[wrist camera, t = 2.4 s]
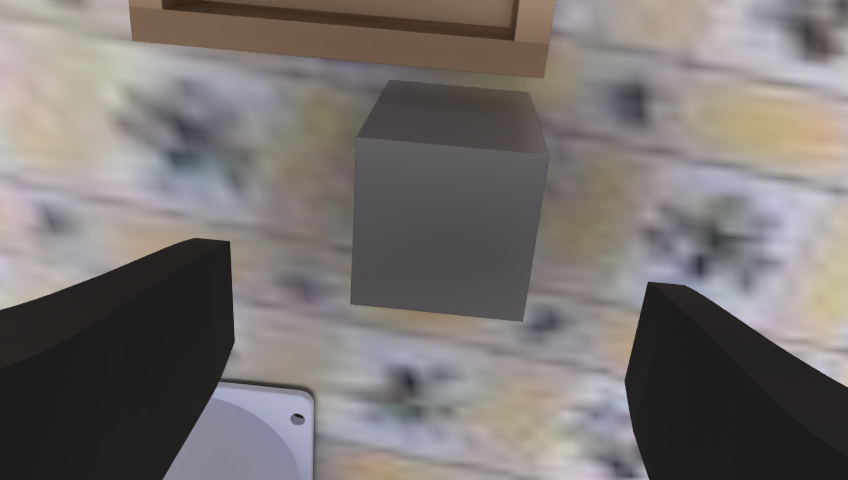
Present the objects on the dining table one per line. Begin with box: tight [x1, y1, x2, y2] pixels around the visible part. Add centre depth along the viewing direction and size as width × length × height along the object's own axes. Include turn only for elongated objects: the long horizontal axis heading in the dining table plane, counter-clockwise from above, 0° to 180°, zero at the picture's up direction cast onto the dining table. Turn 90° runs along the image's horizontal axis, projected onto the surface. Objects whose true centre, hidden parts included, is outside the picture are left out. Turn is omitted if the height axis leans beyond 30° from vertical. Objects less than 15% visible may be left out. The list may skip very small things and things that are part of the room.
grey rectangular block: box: [351, 80, 549, 322], centre depth 18 cm, size 4×4×6 cm
